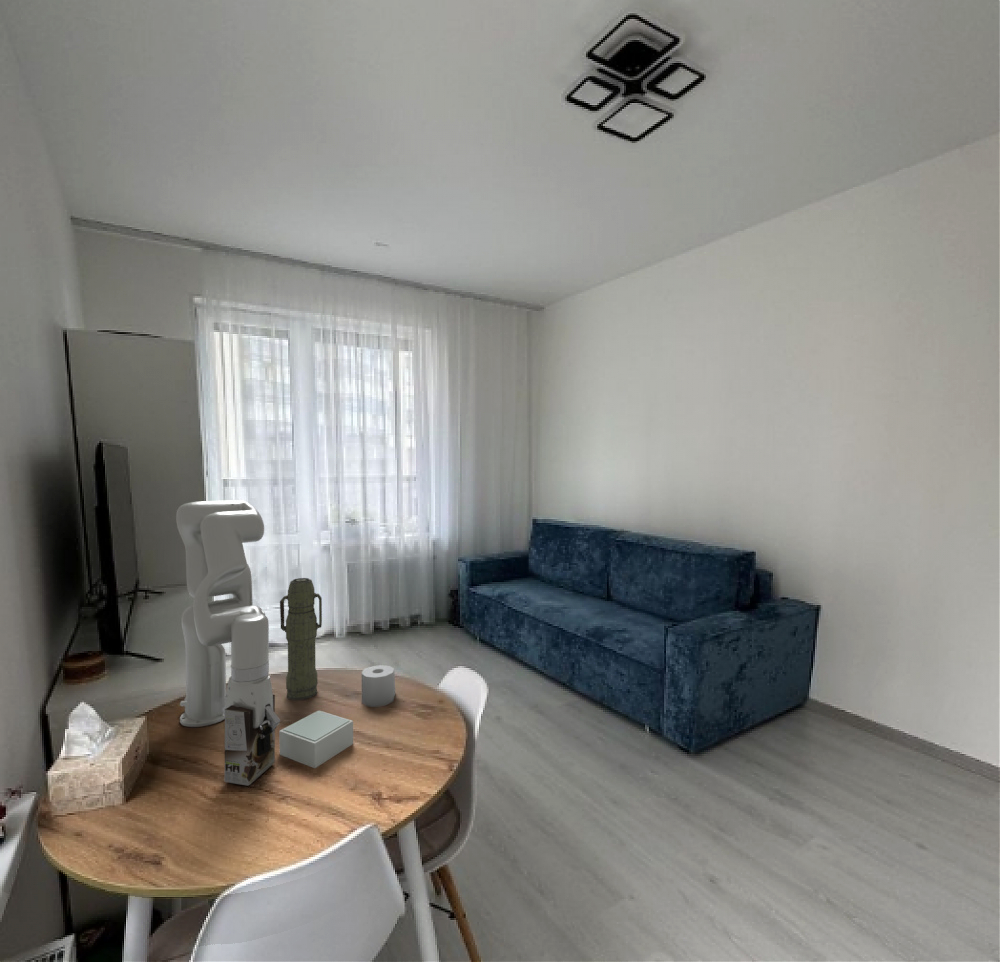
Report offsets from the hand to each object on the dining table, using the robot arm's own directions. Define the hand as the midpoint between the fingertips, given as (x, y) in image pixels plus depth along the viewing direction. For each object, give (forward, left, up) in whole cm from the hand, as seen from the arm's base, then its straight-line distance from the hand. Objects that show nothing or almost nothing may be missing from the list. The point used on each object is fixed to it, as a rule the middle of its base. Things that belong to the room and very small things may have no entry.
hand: (250, 748), depth 115 cm
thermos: (-19, +37, -6) cm, 42 cm away
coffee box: (0, 0, -6) cm, 6 cm away
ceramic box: (+7, +14, -6) cm, 16 cm away
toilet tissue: (+5, +43, -6) cm, 44 cm away
